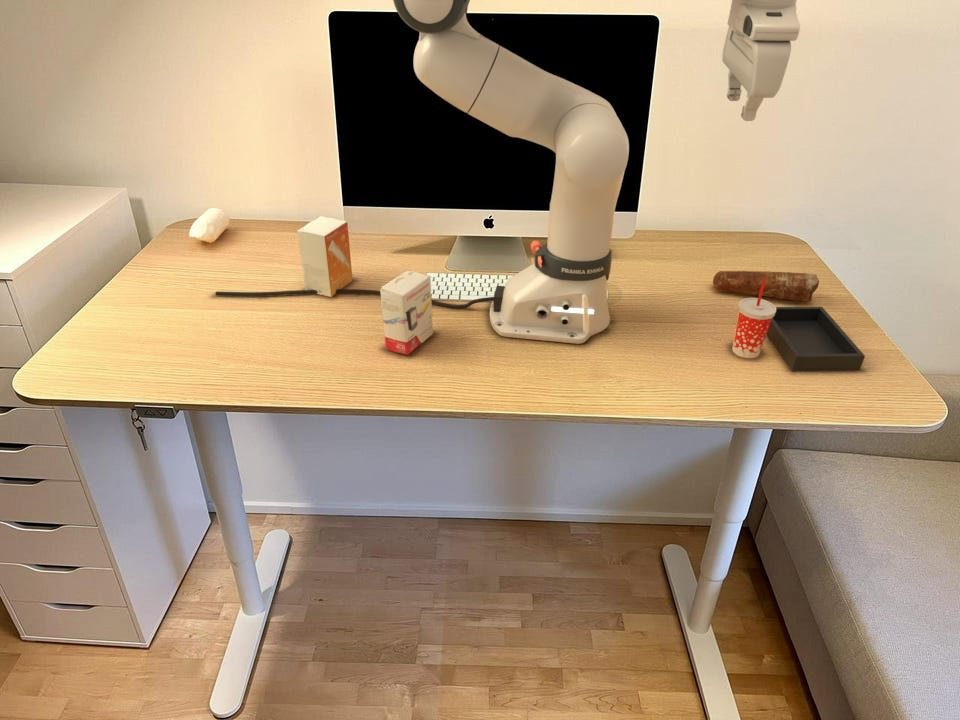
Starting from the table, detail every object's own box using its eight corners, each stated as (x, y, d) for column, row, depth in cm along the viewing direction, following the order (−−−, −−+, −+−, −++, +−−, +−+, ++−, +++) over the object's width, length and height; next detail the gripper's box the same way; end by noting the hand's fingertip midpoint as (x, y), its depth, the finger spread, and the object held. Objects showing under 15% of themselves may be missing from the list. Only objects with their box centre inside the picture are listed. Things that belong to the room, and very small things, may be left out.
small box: (331, 298, 139) (324, 236, 131) (304, 291, 141) (295, 230, 133) (353, 280, 145) (348, 220, 138) (327, 274, 147) (320, 215, 140)
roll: (185, 251, 155) (179, 227, 152) (206, 229, 165) (201, 206, 162) (212, 252, 155) (207, 228, 152) (232, 230, 165) (227, 207, 162)
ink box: (407, 357, 122) (403, 296, 115) (383, 349, 124) (378, 289, 117) (434, 334, 128) (432, 275, 121) (411, 326, 130) (408, 268, 124)
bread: (813, 308, 138) (821, 282, 134) (711, 294, 142) (716, 269, 139) (809, 293, 143) (817, 268, 139) (711, 280, 147) (716, 255, 144)
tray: (792, 371, 120) (796, 356, 118) (756, 320, 133) (760, 306, 132) (859, 370, 120) (865, 355, 118) (817, 320, 134) (822, 306, 132)
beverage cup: (766, 362, 122) (787, 290, 114) (729, 358, 122) (747, 286, 115) (760, 343, 127) (780, 272, 119) (725, 340, 127) (742, 269, 120)
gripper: (723, -1, 113) (706, 88, 121) (757, 30, 96) (734, 131, 105) (763, -1, 112) (743, 89, 121) (804, 30, 96) (778, 132, 104)
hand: (739, 109), depth 113 cm, fingers open, 8 cm apart
